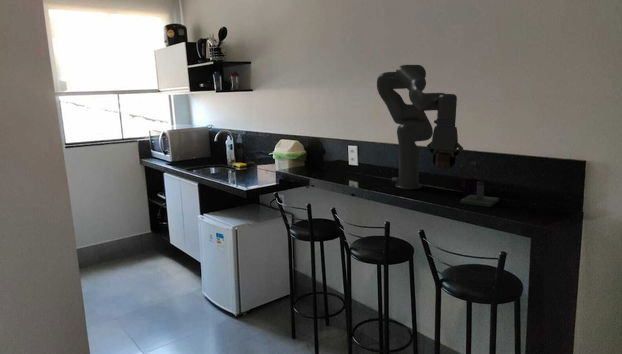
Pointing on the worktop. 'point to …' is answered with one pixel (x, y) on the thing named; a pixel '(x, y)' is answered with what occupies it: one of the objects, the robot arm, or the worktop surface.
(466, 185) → the mug
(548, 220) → the worktop surface
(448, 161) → the collar
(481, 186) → the post block
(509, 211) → the worktop surface
